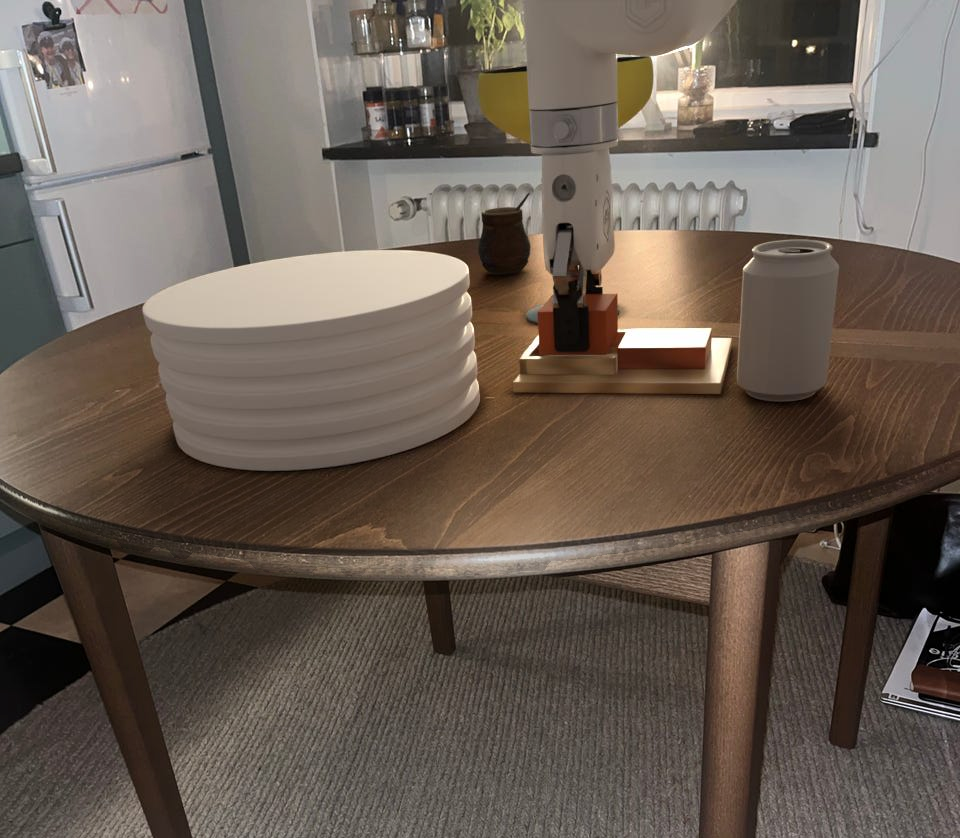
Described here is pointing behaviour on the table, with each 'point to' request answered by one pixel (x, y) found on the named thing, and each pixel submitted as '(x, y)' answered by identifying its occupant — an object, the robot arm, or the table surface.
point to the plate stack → (316, 358)
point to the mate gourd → (504, 240)
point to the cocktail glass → (510, 104)
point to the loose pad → (600, 325)
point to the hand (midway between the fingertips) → (579, 338)
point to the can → (787, 319)
